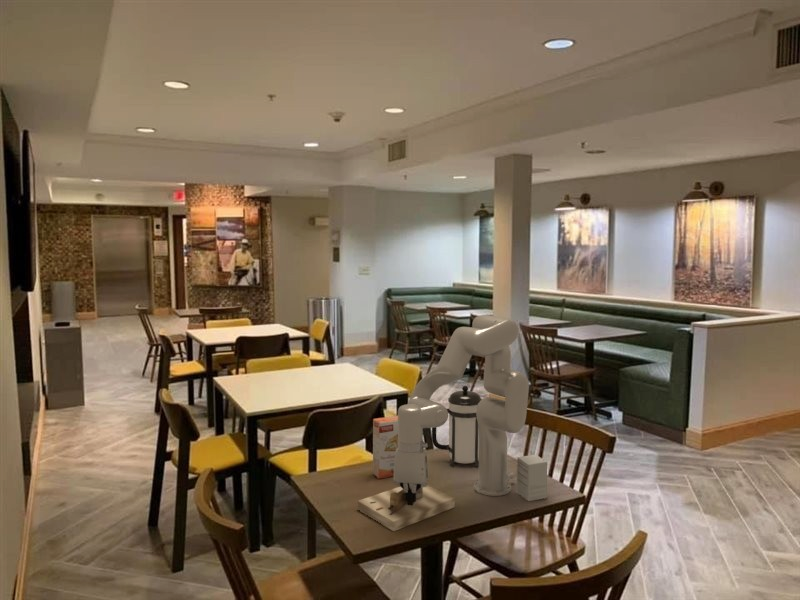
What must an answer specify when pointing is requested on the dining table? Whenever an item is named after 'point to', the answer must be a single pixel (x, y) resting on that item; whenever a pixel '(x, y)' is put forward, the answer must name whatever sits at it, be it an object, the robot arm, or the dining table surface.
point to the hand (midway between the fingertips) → (410, 503)
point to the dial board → (405, 507)
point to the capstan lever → (402, 498)
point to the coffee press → (462, 428)
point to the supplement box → (532, 477)
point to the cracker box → (384, 445)
